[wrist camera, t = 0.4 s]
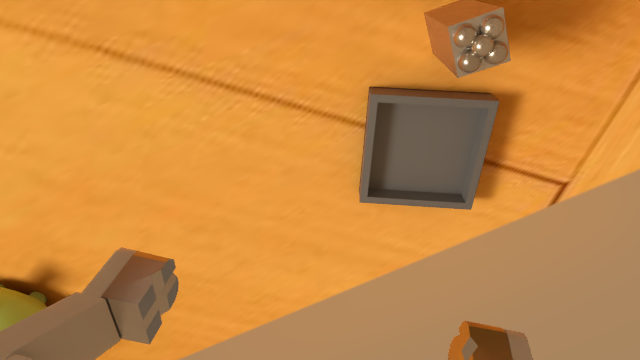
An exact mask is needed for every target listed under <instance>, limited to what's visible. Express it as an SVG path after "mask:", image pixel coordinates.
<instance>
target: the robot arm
mask: <svg viewBox="0 0 640 360" xmlns="http://www.w3.org/2000/svg"><path fill="white" fill-rule="evenodd" d="M175 268H176V267H175V263H174V260H173V259H169V258H165V257H161V256H156V255H152V254H148V253H144V252H140V251H135V250H131V249H126V248H120V249H119V250H117V251H116V252H115V253H114V254H113V255H112V256H111V257H110V259H109V260H108V261H107V262H106V264H105V265H104V266H103V267H102V268H101V270H100V271H99V272H98V273H97V275H96V276H95V277H94V278H93V279H92V281H91V282H90V283H89V284H88V286H87V287H86V288H85V289H84V290H83V292H82V293H78V292H76V293H74V294H72V295H70V296H68V297H66V298H64V299H62V300H60V301H58V302H56V303H54V304H52V305H50V306H48V307H46V308H45V309H43V310H41V311H39V312H37V313H35V314H33V315H31V316H29V317H27V318H25V319H23V320H21V321H19V322H17V323H15V324H13V325H12V326H10V327H8V328H6V329H4V330H2V331H0V360H95V359H96V358H97V357H99V356H100V355H101V354H103V353H104V352H105V351H107V350H108V349H110V348H111V347H112V346H114V345H115V344H116V343H118V342H119V341H120V338H121V339H126V340H131V341H136V342H141V343H146V344H150V343H151V341H152V340H153V338H154V336H155V334H156V333H157V331H158V329H159V328H160V326H161V324H162V320H161V315H162V314H163V313H165V312H167V311H168V310H170V308H171V306H172V304H173V303H174V301H175V298H176V295H177V292H178V278H177V276H176V275H175V274H174V273H173V271H174V269H175ZM459 332H460V335H458V336H456V337H454V338H453V340H452V343H451V345H450V349H449V354H448V356H449V357H448V360H533V358H532V355H531V351H530V347H529V344H528V340H527V337H526V336H525V334H524V333H521V332H516V331H511V330H506V329H502V328H499V327H494V326H489V325H483V324H479V323H474V322H469V321H464V322H462V324H461V326H460V327H459Z"/></svg>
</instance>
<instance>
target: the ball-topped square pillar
mask: <svg viewBox="0 0 640 360" xmlns="http://www.w3.org/2000/svg"><path fill="white" fill-rule="evenodd" d="M424 16H425V20H426V25H427V29H428V34H429V38H430V43H431V47H432V52H433V54H434V55H435V56H436V57H437V58H438V59H439V60H440V61H441V62H442V63H443V64H444V65H445V66H446V67H447V68H448V69H449V70H450V71H451V72H452V73H453V74H454V75H455V76H456V77H457V78H459V77H462V76H465V75H468V74H472V73H475V72H478V71H481V70H484V69H487V68H490V67H493V66H496V65H499V64H503V63H506V62H509V61H511V59H510V52H509V44H508V37H507V30H506V22H505V15H504V8H503V7H500V6H496V5H492V4H488V3H484V2H480V1H476V0H459V1H456V2H453V3H451V4H448V5H445V6H442V7H439V8H437V9H434V10H431V11H428V12H426V13H424Z"/></svg>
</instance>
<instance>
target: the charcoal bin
mask: <svg viewBox="0 0 640 360" xmlns="http://www.w3.org/2000/svg"><path fill="white" fill-rule="evenodd" d="M498 105H499V100H497V99H496V98H495V97H494V96H493V95H492V94H491V93H474V92H456V91H437V90H419V89H400V88H381V87H369V96H368V106H367V116H366V126H365V136H364V147H363V157H362V167H361V177H360V187H359V196H360V202H362V203H377V204H392V205H408V206H423V207H439V208H454V209H470V210H471V208H472V205H473V201H474V197H475V193H476V189H477V185H478V182H479V178H480V174H481V170H482V166H483V162H484V158H485V155H486V151H487V147H488V143H489V139H490V135H491V132H492V128H493V124H494V120H495V116H496V112H497V109H498Z"/></svg>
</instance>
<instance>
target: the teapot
mask: <svg viewBox="0 0 640 360" xmlns="http://www.w3.org/2000/svg"><path fill="white" fill-rule="evenodd" d="M46 302H47V298H46V297H45V296H44V295H43V294H42V293H40V292H32V293H31V294H30V295H26V294H24V293H21V292H18V291H15V290H11V289H7V288H5V287H4V286H3V285H2V284H1V283H0V331H2V330H4V329H6V328H8V327H10V326H12V325H13V324H15V323H17V322H19V321H21V320H23V319H25V318H27V317H29V316H31V315H33V314H35V313H37V312H39V311H41V310H43V309H45V308H46V307H47V306H46V305H45V304H44V303H46Z"/></svg>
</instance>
